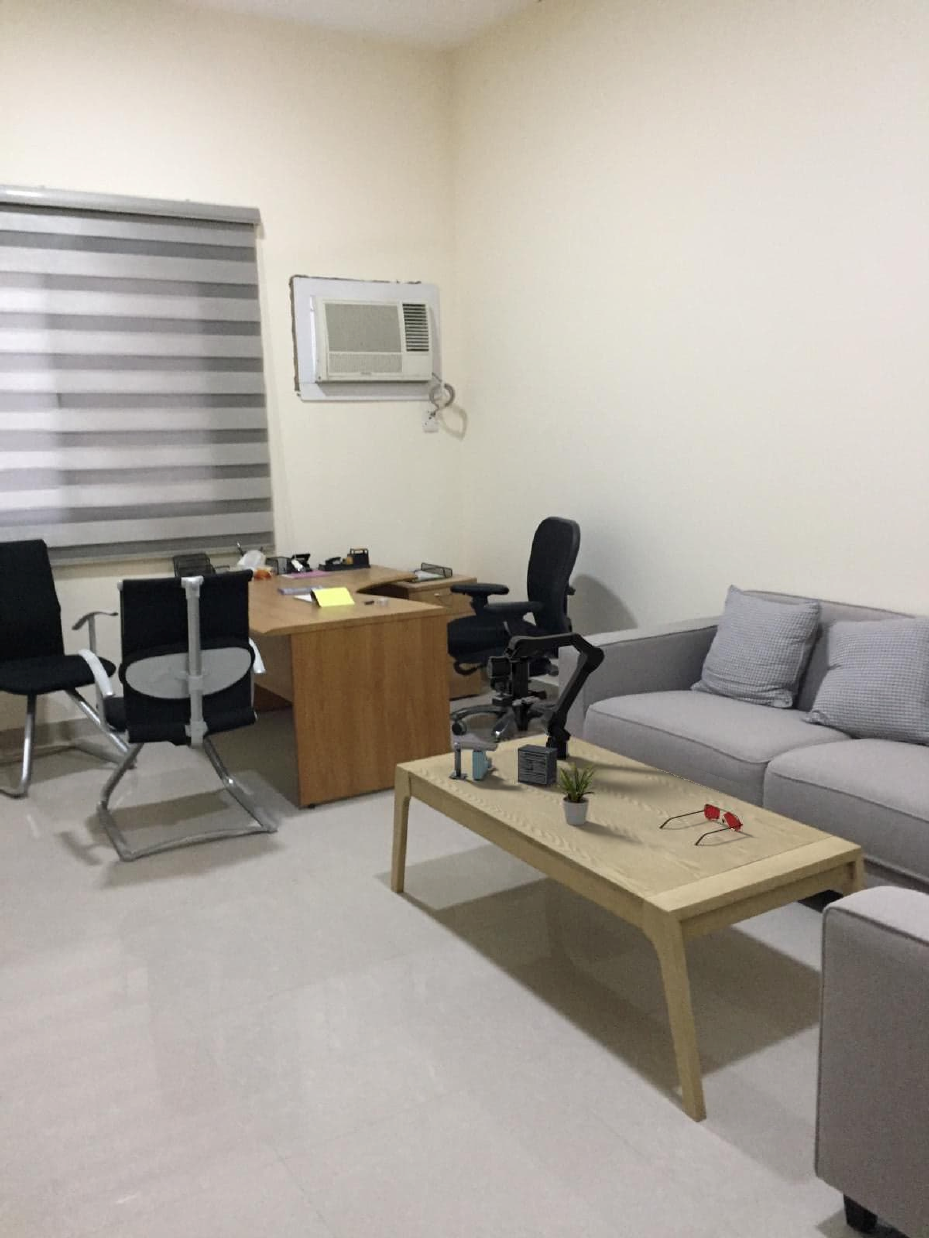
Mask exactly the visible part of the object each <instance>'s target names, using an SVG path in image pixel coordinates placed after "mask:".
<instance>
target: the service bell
mask: <svg viewBox="0 0 929 1238" xmlns="http://www.w3.org/2000/svg"><path fill="white" fill-rule="evenodd" d="M487 756H488V754H486V759H487ZM495 768H496V766H495V765H494V764H492V767H490V768H488V769H487V770H488V771H493V770H495Z"/></svg>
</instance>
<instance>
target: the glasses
mask: <svg viewBox="0 0 929 1238" xmlns="http://www.w3.org/2000/svg"><path fill="white" fill-rule="evenodd" d="M722 811H723V812H725V813H724V814H723V815H722V816H723V818H721V822H722V823H723V824H725V823H727V825H728V827H725V828H721V829H718V830H714V831H711V832H710V831H709V832H706V833H704V834H703V835H701V836H700V837H699V839H698V840H697V841H696V842H695V844H694V846H695V845H696V846H698V844H699V843H700V842H701V841H702V840H703V838H704V837H706V836H707V835H711V834H714V833H719V832H723V831H727V830H731V828H733V829H735V830H736V831H739V830H741V828H742V827H743V826H744V823H742V822H741V821H740V818H739V817H738V816H737V815H736V814H734V813H732V812H731V811H726V810H724V809H722V808H719V807H718V806H715V805H712V804H709V803H705V804H704V806H703V809H702V810H698V811H693V812H689V813H685V814H681V815H678V816H673V817H670V818H668V819H667V820H666V821H665V822H664V823H662V824H661V826H660V827H658V829H659V828H661V829H662V828H664V827H665V825H667V823H668V822H670V821H671V820H673V819H678V818H682V817H686V816H691V815H695V814H699V813H703V814H704V817H705V819H706V818H708V820H716V821H718V820H719V819H720V816H721V812H722Z"/></svg>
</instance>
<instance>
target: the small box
mask: <svg viewBox="0 0 929 1238" xmlns="http://www.w3.org/2000/svg"><path fill="white" fill-rule="evenodd" d="M556 765H557V766H558V759H557V749H556V748H549V747H546V746H542V745H534V744H524V745H523V746H520V747H518V748H517V783H523V784H528V785H535V786H541V787H545V788H549V787H550V786H552V785H555V784H556V783H557V782H558V775H557V774H558V767H557V766H556ZM554 773H555V774H554Z"/></svg>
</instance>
